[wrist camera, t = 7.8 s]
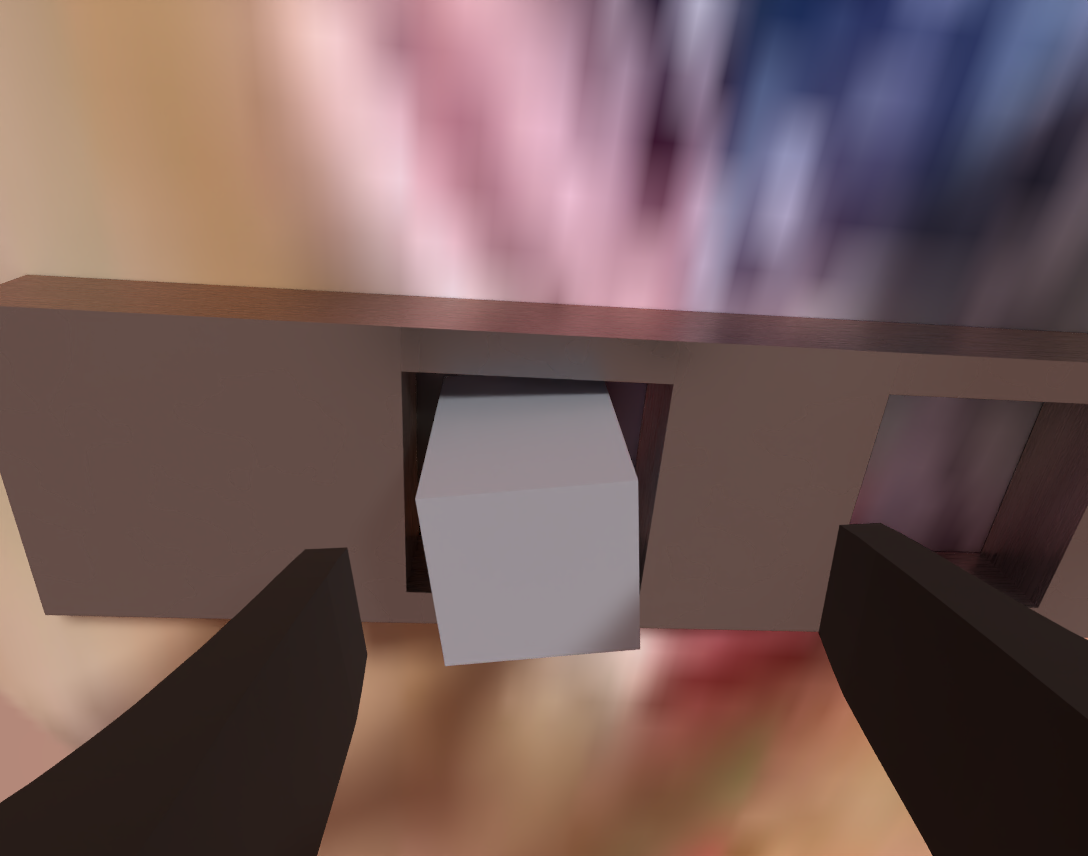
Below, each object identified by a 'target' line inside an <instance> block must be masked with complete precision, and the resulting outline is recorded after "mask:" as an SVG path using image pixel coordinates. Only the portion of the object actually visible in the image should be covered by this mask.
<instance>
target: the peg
mask: <svg viewBox="0 0 1088 856" xmlns="http://www.w3.org/2000/svg"><path fill="white" fill-rule="evenodd" d="M415 500H416V506H417V512H418V517H419V523H420V528H421V534H422V540H423V545H424V551H425V556H426V562H427V567H428V573H429V579H430V584H431V590H432V595H433V601H434V607H435V612H436V618H437V623H438V629H439V634H440V640H441V646H442V651H443V657H444V662H445V666H452V665H464V664H475V663H487V662H498V661H510V660H521V659H533V658H544V657H556V656H567V655H579V654H590V653H601V652H613V651H624V650H636V649H640V598H639V511H638V478H637V476H636V473H635V470H634V467H633V464H632V461H631V458H630V455H629V452H628V449H627V446H626V443H625V440H624V437H623V434H622V431H621V428H620V426H619V423H618V420H617V417H616V414H615V411H614V408H613V405H612V402H611V399H610V396H609V393H608V390H607V387H606V384H605V381H594V380H573V379H551V378H530V377H509V376H488V375H461V376H449V377H444V380H443V384H442V388H441V393H440V397H439V401H438V405H437V409H436V414H435V418H434V422H433V426H432V431H431V435H430V439H429V443H428V448H427V452H426V456H425V460H424V464H423V469H422V473H421V477H420V481H419V486H418V490H417V494H416V498H415Z"/></svg>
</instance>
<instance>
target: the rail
mask: <svg viewBox="0 0 1088 856" xmlns="http://www.w3.org/2000/svg"><path fill="white" fill-rule="evenodd" d="M416 372H425V373H446V374H467V375H488V376H509V377H530V378H551V379H573V380H594V381H615V382H636V383H647V389H646V396H645V403H644V410H643V417H642V424H641V431H640V438H639V445H638V452H637V459H636V466H635V473H636V476H637V478H638V511H639V598H640V628H669V629H715V630H761V631H807V632H819V627H820V622H821V617H822V612H823V607H824V601H825V596H826V591H827V586H828V581H829V576H830V571H831V566H832V560H833V555H834V550H835V545H836V540H837V535H838V530H839V525H848V524H849V523H850V520H851V517H852V513H853V510H854V507H855V504H856V501H857V497H858V494H859V491H860V488H861V484H862V481H863V478H864V475H865V472H866V468H867V465H868V462H869V459H870V456H871V452H872V449H873V446H874V443H875V439H876V436H877V433H878V430H879V427H880V423H881V420H882V417H883V414H884V410H885V407H886V404H887V401H888V398H889V394H890V395H911V396H932V397H953V398H974V399H995V400H1016V401H1037V402H1044V404H1043V406H1042V408H1041V411H1040V413H1039V415H1038V418H1037V420H1036V423H1035V425H1034V427H1033V430H1032V432H1031V435H1030V437H1029V439H1028V442H1027V444H1026V446H1025V449H1024V451H1023V454H1022V456H1021V458H1020V461H1019V463H1018V466H1017V468H1016V470H1015V473H1014V475H1013V478H1012V480H1011V482H1010V485H1009V487H1008V489H1007V492H1006V494H1005V497H1004V499H1003V501H1002V504H1001V506H1000V509H999V511H998V513H997V516H996V518H995V520H994V523H993V525H992V528H991V530H990V532H989V535H988V537H987V540H986V542H985V544H984V547H983V549H982V552H981V553H966V552H934V551H933V552H934V553H936V554H938V555H940V556H941V557H943V558H945V559H946V560H948V561H950V562H951V563H953V564H955V565H956V566H958V567H960V568H961V569H963V570H965V571H967V572H968V573H970V574H972V575H973V576H975V577H977V578H978V579H980V580H982V581H984V582H985V583H987V584H989V585H990V586H992V587H994V588H995V589H997V590H999V591H1001V592H1002V593H1004V594H1006V595H1007V596H1009V597H1011V598H1013V599H1014V600H1016V601H1018V602H1020V603H1021V604H1023V605H1025V606H1027V607H1028V608H1030V609H1032V610H1034V611H1035V612H1037V613H1039V614H1041V615H1042V616H1044V617H1046V618H1048V619H1050V620H1051V621H1053V622H1055V623H1057V624H1059V625H1060V626H1062V627H1064V628H1066V629H1068V630H1070V631H1071V632H1073V633H1075V634H1077V635H1079V636H1081V637H1084V638H1088V333H1075V332H1056V331H1038V330H1020V329H1002V328H984V327H966V326H947V325H929V324H911V323H893V322H875V321H857V320H839V319H820V318H802V317H784V316H766V315H748V314H730V313H711V312H693V311H675V310H657V309H639V308H621V307H602V306H584V305H566V304H548V303H530V302H512V301H494V300H475V299H457V298H439V297H421V296H403V295H385V294H366V293H348V292H330V291H312V290H294V289H276V288H258V287H239V286H221V285H203V284H185V283H167V282H149V281H130V280H112V279H94V278H76V277H58V276H40V275H25V276H22V277H19V278H16V279H13V280H11V281H8V282H5V283H2V284H0V473H1V476H2V479H3V483H4V486H5V489H6V492H7V495H8V498H9V502H10V505H11V508H12V511H13V514H14V517H15V521H16V524H17V527H18V530H19V533H20V536H21V540H22V543H23V546H24V549H25V552H26V556H27V559H28V562H29V565H30V568H31V571H32V575H33V578H34V581H35V584H36V587H37V590H38V594H39V597H40V600H41V603H42V606H43V609H44V613H45V615H70V616H116V617H162V618H208V619H232V618H233V617H234V616H235V615H237V614H238V613H239V612H240V611H241V610H242V609H243V608H244V607H245V606H246V605H247V604H248V603H249V602H250V601H251V600H252V599H253V598H255V597H256V596H257V595H258V594H259V593H260V592H261V591H262V590H263V589H264V588H265V587H266V586H267V585H268V584H269V583H270V582H271V581H272V580H273V579H274V578H275V577H276V576H277V575H278V574H279V573H280V572H281V571H282V570H283V569H284V568H286V567H287V566H288V565H289V564H290V563H291V562H292V561H293V560H294V559H295V558H296V557H297V556H298V555H299V554H301V553H302V552H303V551H304V550H305V549H322V548H344V547H347V548H348V553H349V559H350V564H351V569H352V575H353V580H354V586H355V591H356V596H357V602H358V607H359V612H360V618H361V622H392V623H437V618H436V612H435V607H434V601H433V595H432V590H431V584H430V579H429V573H428V567H427V562H426V556H425V551H424V545H423V540H422V536H418V512H417V506H416V500H415V498H416V494H417V490H418V476H417V402H416Z"/></svg>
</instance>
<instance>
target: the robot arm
mask: <svg viewBox="0 0 1088 856" xmlns="http://www.w3.org/2000/svg"><path fill="white" fill-rule="evenodd" d="M819 635H820V638H821V640H822V643H823V645H824V648H825V651H826V653H827V656H828V659H829V661H830V664H831V666H832V669H833V671H834V674H835V676H836V678H837V681H838V683H839V686H840V688H841V690H842V693H843V695H844V697H845V699H846V701H847V703H848V705H849V706H850V708H851V710H852V712H853V714H854V716H855V718H856V719H857V721H858V723H859V725H860V727H861V728H862V730H863V732H864V734H865V736H866V737H867V739H868V741H869V743H870V745H871V746H872V748H873V750H874V752H875V754H876V755H877V757H878V759H879V761H880V762H881V764H882V766H883V768H884V770H885V771H886V773H887V775H888V777H889V778H890V780H891V782H892V784H893V786H894V787H895V789H896V791H897V793H898V794H899V796H900V798H901V800H902V802H903V803H904V805H905V807H906V809H907V810H908V812H909V814H910V816H911V818H912V819H913V821H914V823H915V825H916V826H917V828H918V830H919V832H920V833H921V835H922V837H923V839H924V841H925V842H926V844H927V846H928V848H929V850H930V852H931V854H932V855H933V856H1088V640H1087V639H1085V638H1083V637H1081V636H1079V635H1077V634H1075V633H1073V632H1071V631H1070V630H1068V629H1066V628H1064V627H1062V626H1060V625H1059V624H1057V623H1055V622H1053V621H1051V620H1050V619H1048V618H1046V617H1044V616H1042V615H1041V614H1039V613H1037V612H1035V611H1034V610H1032V609H1030V608H1028V607H1027V606H1025V605H1023V604H1021V603H1020V602H1018V601H1016V600H1014V599H1013V598H1011V597H1009V596H1007V595H1006V594H1004V593H1002V592H1001V591H999V590H997V589H995V588H994V587H992V586H990V585H989V584H987V583H985V582H984V581H982V580H980V579H978V578H977V577H975V576H973V575H972V574H970V573H968V572H967V571H965V570H963V569H961V568H960V567H958V566H956V565H955V564H953V563H951V562H950V561H948V560H946V559H945V558H943V557H941V556H940V555H938V554H936V553H934V552H933V551H931V550H929V549H928V548H926V547H924V546H922V545H921V544H919V543H917V542H915V541H914V540H912V539H910V538H908V537H907V536H905V535H903V534H901V533H899V532H897V531H895V530H894V529H892V528H890V527H887V526H885V525H883V524H881V523H870V524H848V525H839V530H838V535H837V540H836V545H835V550H834V555H833V560H832V566H831V571H830V576H829V581H828V586H827V591H826V596H825V601H824V607H823V612H822V617H821V622H820V627H819ZM366 660H367V650H366V645H365V639H364V634H363V629H362V623H361V618H360V612H359V607H358V602H357V596H356V591H355V586H354V580H353V575H352V569H351V564H350V559H349V553H348V548H347V547H344V548H322V549H305V550H304V551H303V552H302V553H301V554H299V555H298V556H297V557H296V558H295V559H294V560H293V561H292V562H291V563H290V564H289V565H288V566H287V567H286V568H284V569H283V570H282V571H281V572H280V573H279V574H278V575H277V576H276V577H275V578H274V579H273V580H272V581H271V582H270V583H269V584H268V585H267V586H266V587H265V588H264V589H263V590H262V591H261V592H260V593H259V594H258V595H257V596H256V597H255V598H253V599H252V600H251V601H250V602H249V603H248V604H247V605H246V606H245V607H244V608H243V609H242V610H241V611H240V612H239V613H238V614H237V615H235V616H234V617H233V618H232V619H231V620H230V621H229V622H228V623H227V624H226V625H225V626H224V627H223V628H222V629H221V630H219V631H218V632H217V633H216V634H215V635H214V636H213V637H212V638H211V639H210V640H209V641H208V642H207V643H206V644H204V645H203V646H202V647H201V648H200V649H199V650H198V651H196V652H195V653H194V654H193V655H192V656H191V657H189V658H188V659H187V660H186V661H185V662H184V663H182V664H181V665H180V666H179V667H178V668H177V669H176V670H174V671H173V672H172V673H171V674H170V675H169V676H167V677H166V678H165V679H164V680H163V681H162V682H160V683H159V684H158V685H157V686H156V687H155V688H153V689H152V690H151V691H150V692H149V693H148V694H146V695H145V696H144V697H143V698H142V699H141V700H139V701H138V702H137V703H136V704H135V705H133V706H132V707H131V708H130V709H128V710H127V711H126V712H125V713H123V714H122V715H121V716H120V717H118V718H117V719H116V720H115V721H113V722H112V723H111V724H109V725H108V726H107V727H106V728H104V729H103V730H102V731H100V732H99V733H98V734H97V735H95V736H94V737H93V738H91V739H90V740H88V741H87V742H86V743H84V744H83V745H82V746H80V747H79V748H78V749H76V750H75V751H74V752H72V753H71V754H70V755H68V756H67V757H65V758H64V759H63V760H61V761H60V762H59V763H57V764H56V765H55V766H53V767H52V768H51V769H49V770H48V771H46V772H45V773H44V774H43V775H41V776H39V777H38V778H37V779H35V780H34V781H32V782H31V783H29V784H28V785H27V786H25V787H24V788H22V789H20V790H19V791H17V792H16V793H14V794H13V795H12V796H10V797H8V798H7V799H5V800H4V801H2V802H1V803H0V856H317V854H318V850H319V847H320V844H321V840H322V837H323V834H324V830H325V827H326V823H327V820H328V817H329V813H330V810H331V807H332V803H333V800H334V796H335V793H336V790H337V786H338V783H339V780H340V776H341V773H342V769H343V766H344V762H345V759H346V756H347V752H348V749H349V745H350V742H351V738H352V735H353V731H354V728H355V724H356V720H357V714H358V709H359V703H360V697H361V692H362V686H363V679H364V673H365V666H366Z"/></svg>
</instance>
